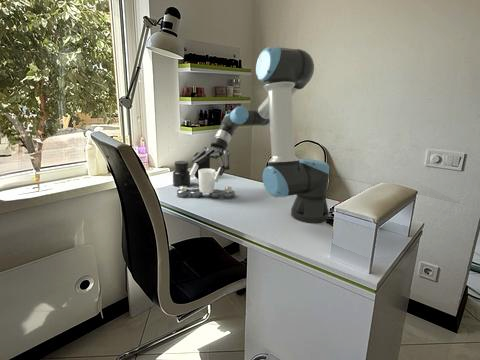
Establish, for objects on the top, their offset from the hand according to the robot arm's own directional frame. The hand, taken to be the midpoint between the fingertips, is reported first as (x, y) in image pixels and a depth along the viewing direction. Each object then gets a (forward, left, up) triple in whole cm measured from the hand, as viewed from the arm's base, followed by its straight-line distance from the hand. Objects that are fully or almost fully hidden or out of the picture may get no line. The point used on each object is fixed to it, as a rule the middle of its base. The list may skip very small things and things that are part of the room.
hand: (203, 178), depth 146 cm
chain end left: (+2, +6, -9) cm, 11 cm away
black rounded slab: (+34, +4, -9) cm, 35 cm away
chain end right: (+2, -9, -9) cm, 13 cm away
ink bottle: (+20, +13, -9) cm, 26 cm away
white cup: (+2, -2, -7) cm, 7 cm away
